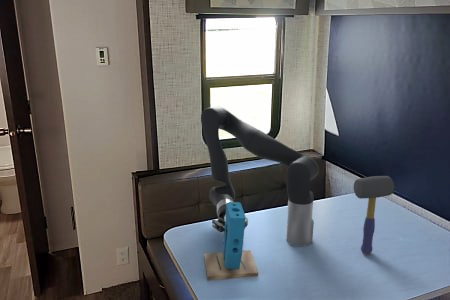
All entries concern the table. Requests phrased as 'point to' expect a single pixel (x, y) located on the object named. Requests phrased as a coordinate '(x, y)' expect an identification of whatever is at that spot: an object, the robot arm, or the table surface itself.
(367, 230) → the rubber mallet
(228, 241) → the block
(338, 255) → the table surface
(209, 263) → the oak board
